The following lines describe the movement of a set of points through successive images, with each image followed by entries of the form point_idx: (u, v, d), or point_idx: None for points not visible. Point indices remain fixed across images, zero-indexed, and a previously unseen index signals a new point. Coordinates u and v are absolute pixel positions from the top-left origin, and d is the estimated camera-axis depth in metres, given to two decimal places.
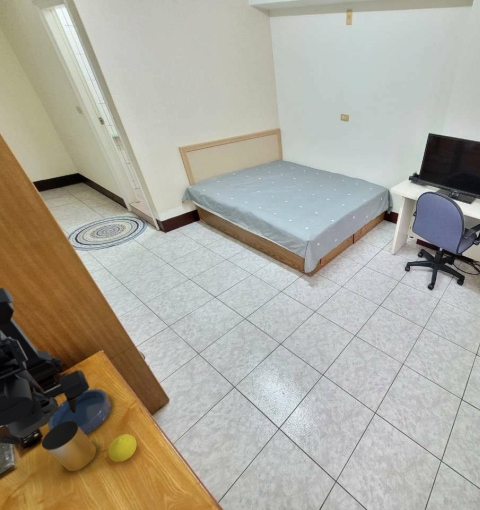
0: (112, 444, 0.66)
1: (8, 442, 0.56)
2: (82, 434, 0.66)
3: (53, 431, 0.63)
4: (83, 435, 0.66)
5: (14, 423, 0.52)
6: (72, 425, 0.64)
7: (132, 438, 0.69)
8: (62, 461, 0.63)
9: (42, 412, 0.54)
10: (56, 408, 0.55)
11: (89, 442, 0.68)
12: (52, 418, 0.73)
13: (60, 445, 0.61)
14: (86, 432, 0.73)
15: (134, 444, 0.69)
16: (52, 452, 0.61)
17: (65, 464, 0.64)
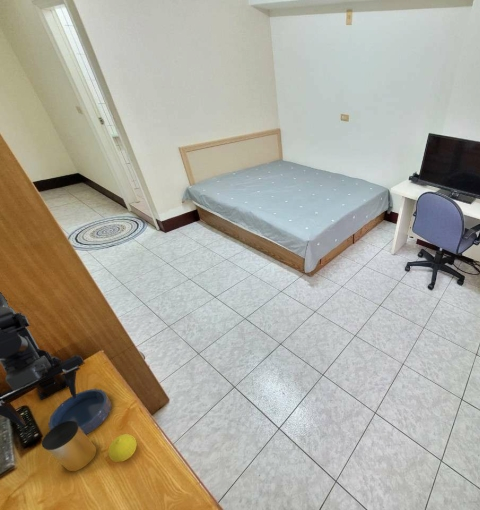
0: (112, 444, 0.66)
1: (12, 419, 0.61)
2: (82, 434, 0.66)
3: (53, 431, 0.63)
4: (83, 435, 0.66)
5: (11, 375, 0.60)
6: (72, 425, 0.64)
7: (132, 438, 0.69)
8: (62, 461, 0.63)
9: (34, 365, 0.62)
10: (46, 363, 0.63)
11: (89, 442, 0.68)
12: (52, 418, 0.73)
13: (60, 445, 0.61)
14: (86, 432, 0.73)
15: (134, 444, 0.69)
16: (52, 452, 0.61)
17: (65, 464, 0.64)
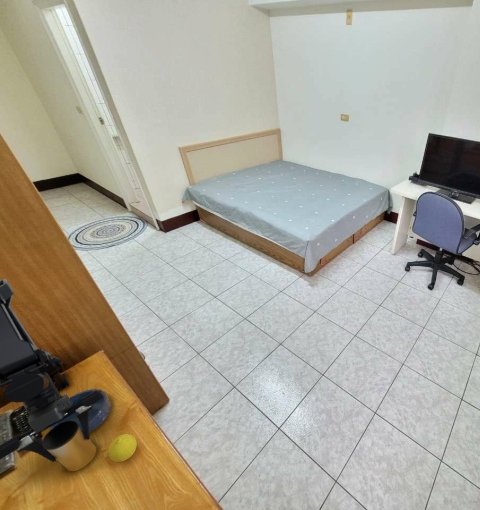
0: (112, 444, 0.66)
1: (43, 455, 0.61)
2: (82, 434, 0.66)
3: (53, 431, 0.63)
4: (83, 435, 0.66)
5: (33, 416, 0.59)
6: (72, 425, 0.64)
7: (132, 438, 0.69)
8: (62, 461, 0.63)
9: (56, 405, 0.61)
10: (68, 402, 0.62)
11: (89, 442, 0.68)
12: None
13: (60, 445, 0.61)
14: None
15: (134, 444, 0.69)
16: (52, 452, 0.61)
17: (65, 464, 0.64)
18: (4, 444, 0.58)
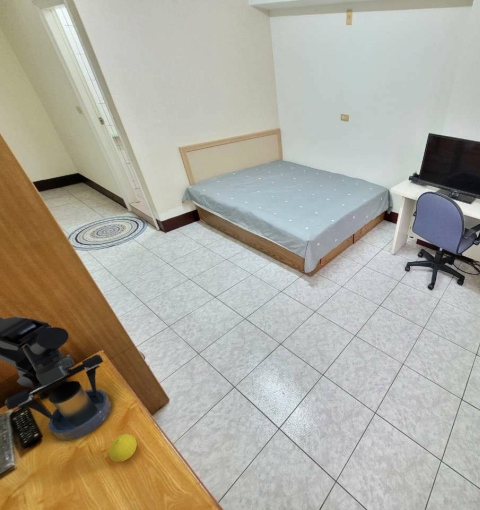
0: (112, 444, 0.66)
1: (41, 412, 0.68)
2: (84, 393, 0.74)
3: (58, 389, 0.71)
4: (85, 394, 0.74)
5: (41, 372, 0.67)
6: (75, 384, 0.72)
7: (132, 438, 0.69)
8: (66, 416, 0.71)
9: (61, 363, 0.69)
10: (71, 361, 0.70)
11: (90, 401, 0.76)
12: None
13: (65, 400, 0.69)
14: (86, 432, 0.73)
15: (134, 444, 0.69)
16: (58, 406, 0.69)
17: (69, 419, 0.72)
18: (15, 395, 0.65)
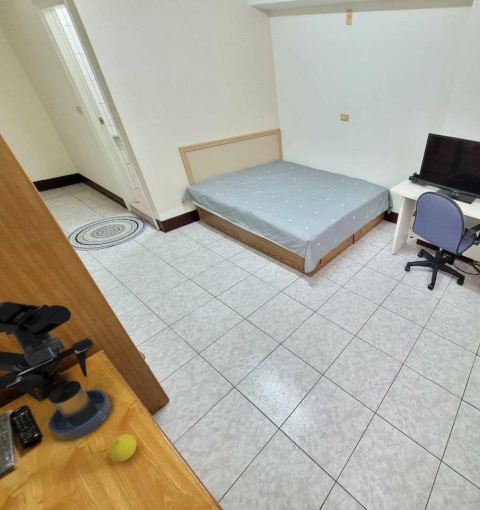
0: (112, 444, 0.66)
1: (30, 393, 0.67)
2: (84, 393, 0.74)
3: (58, 389, 0.71)
4: (85, 394, 0.74)
5: (29, 353, 0.66)
6: (75, 384, 0.72)
7: (132, 438, 0.69)
8: (66, 416, 0.71)
9: (50, 345, 0.68)
10: (60, 343, 0.69)
11: (90, 401, 0.76)
12: (52, 418, 0.73)
13: (65, 400, 0.69)
14: (86, 432, 0.73)
15: (134, 444, 0.69)
16: (58, 406, 0.69)
17: (69, 419, 0.72)
18: (3, 376, 0.65)
